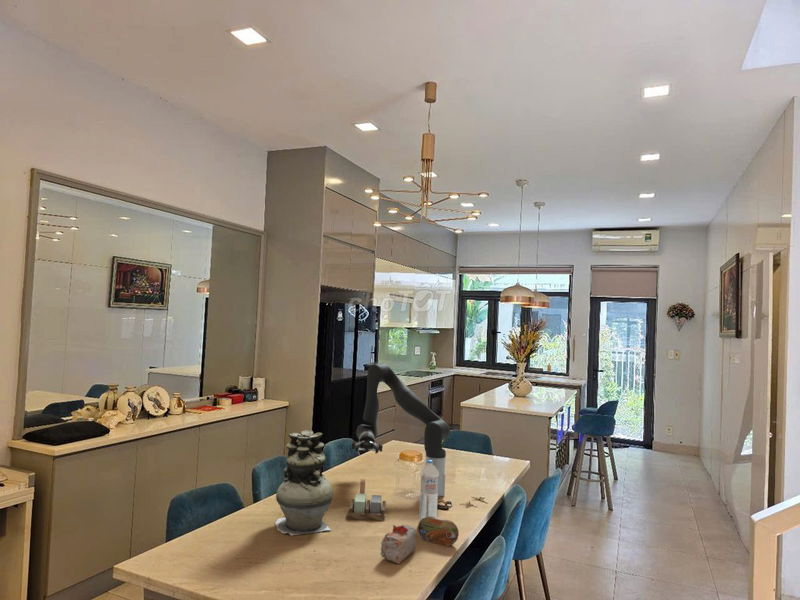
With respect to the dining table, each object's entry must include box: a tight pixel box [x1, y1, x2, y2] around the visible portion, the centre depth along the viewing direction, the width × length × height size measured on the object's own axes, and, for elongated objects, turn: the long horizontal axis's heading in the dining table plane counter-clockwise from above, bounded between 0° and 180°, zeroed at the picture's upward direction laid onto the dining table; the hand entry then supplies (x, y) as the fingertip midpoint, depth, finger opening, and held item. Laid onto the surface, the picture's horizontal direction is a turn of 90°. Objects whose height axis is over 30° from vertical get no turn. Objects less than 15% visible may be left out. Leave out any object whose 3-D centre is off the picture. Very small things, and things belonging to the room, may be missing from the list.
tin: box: [417, 517, 460, 547], centre depth 190 cm, size 15×3×8 cm, turn 62°
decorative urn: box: [274, 429, 334, 536], centre depth 200 cm, size 21×21×35 cm
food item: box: [380, 524, 417, 565], centre depth 177 cm, size 14×8×10 cm, turn 154°
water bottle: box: [418, 460, 439, 523], centre depth 206 cm, size 7×7×25 cm
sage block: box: [354, 479, 367, 513], centre depth 220 cm, size 4×16×10 cm, turn 0°
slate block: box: [369, 494, 382, 514], centre depth 216 cm, size 4×9×6 cm, turn 0°
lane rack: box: [348, 498, 386, 521], centre depth 215 cm, size 14×12×4 cm
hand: (366, 450), depth 237 cm, fingers open, 8 cm apart
